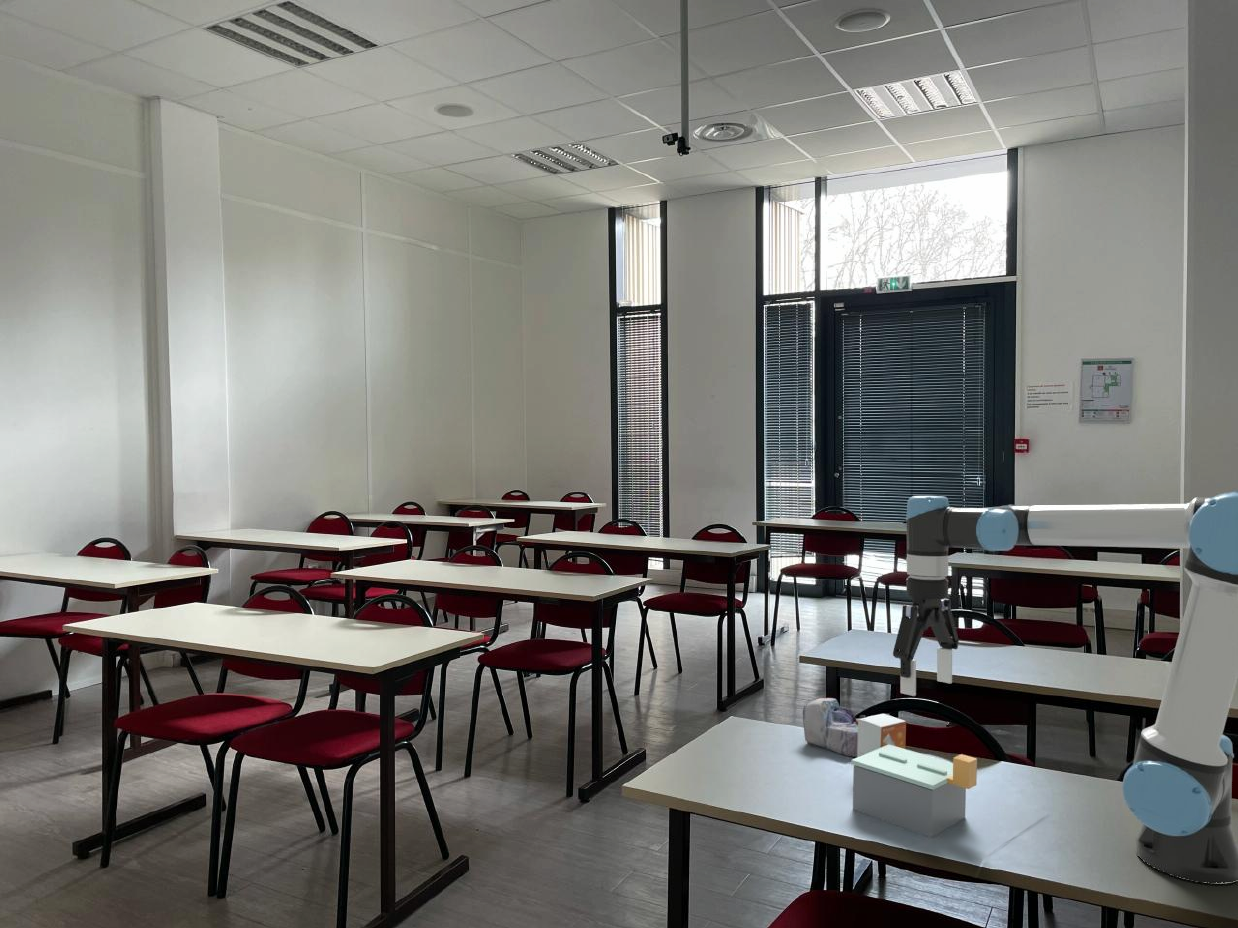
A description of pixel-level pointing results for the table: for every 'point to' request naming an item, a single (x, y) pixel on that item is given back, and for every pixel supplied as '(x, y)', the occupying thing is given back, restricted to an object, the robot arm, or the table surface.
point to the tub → (908, 802)
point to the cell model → (831, 726)
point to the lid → (920, 767)
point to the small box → (880, 733)
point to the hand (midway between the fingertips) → (926, 688)
